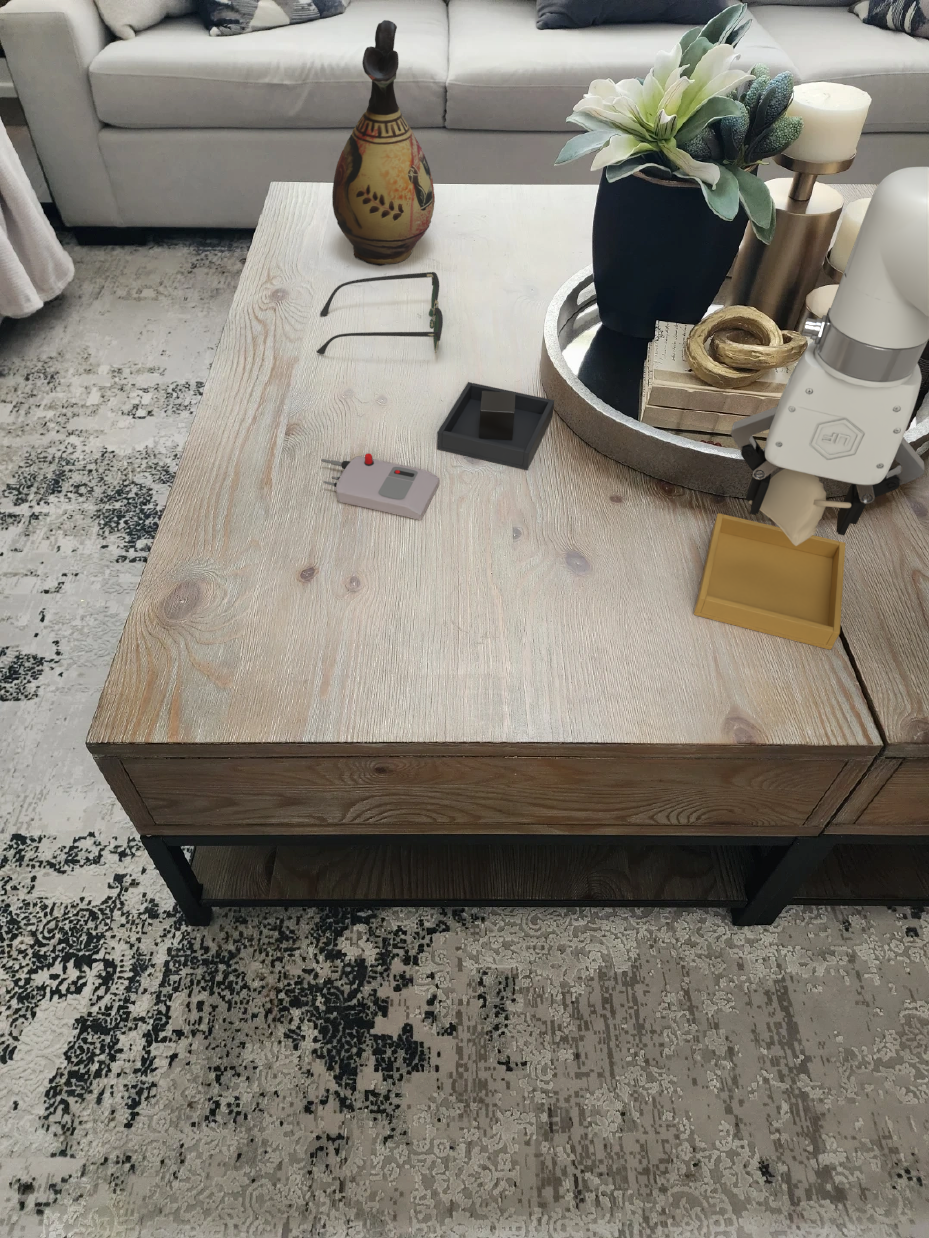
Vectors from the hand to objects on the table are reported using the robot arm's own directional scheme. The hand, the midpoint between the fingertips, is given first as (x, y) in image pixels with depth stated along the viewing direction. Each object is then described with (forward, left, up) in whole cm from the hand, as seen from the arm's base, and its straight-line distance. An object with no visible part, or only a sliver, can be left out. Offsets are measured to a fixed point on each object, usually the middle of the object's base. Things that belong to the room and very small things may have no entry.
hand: (797, 514), depth 79 cm
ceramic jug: (+65, -55, -10) cm, 86 cm away
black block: (+34, -15, -9) cm, 38 cm away
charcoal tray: (+34, -15, -10) cm, 38 cm away
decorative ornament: (0, 0, -1) cm, 1 cm away
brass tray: (0, 0, -10) cm, 10 cm away
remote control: (+43, 0, -10) cm, 44 cm away
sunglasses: (+56, -31, -10) cm, 65 cm away
